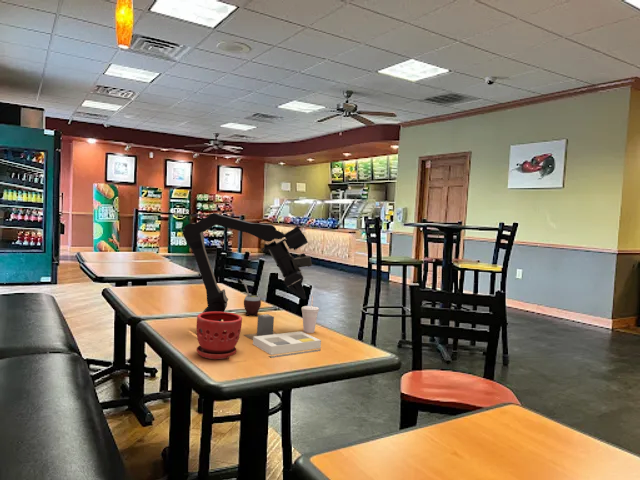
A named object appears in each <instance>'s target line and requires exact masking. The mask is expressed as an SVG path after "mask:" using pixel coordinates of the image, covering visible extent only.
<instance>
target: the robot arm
mask: <svg viewBox="0 0 640 480" xmlns="http://www.w3.org/2000/svg"><path fill="white" fill-rule="evenodd" d="M214 226H219V227H223V228H225V229H226V228H227V229H231V230H234V231H239V232H243V233H245V234H249V235H252V236H254V237H256V238H258V239H260V240H263V241H264V242H270V243H268V244H267V243H264V244H263V249H262V252H263V253H266V252H268V251H269V253H270V255H271V257H272V258H273V261H274V262H275V264H276V266H277V268H278V269H279V271H280V273H281V275H282V277H283V283H284V284H285V286H286V287H287V288H288V289H289V290H291V291H293V293H295V295H298V296H299V297H300V298H301V299H302V300H306V299H307V296H306V292H305V290H304V286H303V281H304V275H303V274H302V270H301V269H300V268H303V267H308V268H309V267H312V266H313V264H312V258H311V256H310V255H306V253H300V254H299V256H297V257H295V258H294V256H293V255H292V254H291V253H290V251H289V250H293V251H296V250H298V249H300V248H302V247H304V245H306V244H309V242H308V240H307V237H306V236H305V235H304V233H303V231H302V230H301V228H300V227H299V226H298V225H297V226H295V227H294V228H293V229H291V230H289V231H287V232H285V233H284V232H282V231H280V230H277V228H276V227H275V225H274V224H272V223H271V224H270V223H258V222H251V221H246V220H243V219H239V218H234V217H230V216H226V215H223V214H220V213H217V212H212V213H210V214H209V215H208V216H206V217H204V218H202V219H201V220H199V221H197V222H192V223H191V222H190V223H188V224H186V225H185V226H184V227H183V229H182V232H181V233H182V235H183V238H184V240H185V242H186V244H187V245H188V246H189V248H190V249H191V251H192V253H193V255H194V259H195V261H196V265H197V268H198V270H199V273H200V276H201V279H202V282H203V284H204V288H205V291H206V292H205V293H206V303H207V306H206V307H205V308H204V309H203V311H202V312H201V313H204V312H226V311H225V310H226V309H227V307H228V301H229V298H228V297H227V294H226V289H224V288H223V289H222V290H221V288H220V287H219V286H218V283H217V281H216V277H215V274H214V272H213V268H212V264H211V261H210V259H209V257H208V254H207V251H206V245H205V244H206V243H205V236H204V232H206V231H208V230H210V229H211V228H213V227H214ZM276 240H280V241H278V242H277V241H276ZM285 243H286V244H285ZM286 245H287V246H286ZM287 247H288V248H287ZM213 321H215V320H213ZM218 321H223V320H222V319H220V320H218ZM200 331H201V333H202V332H203V331H202V329H201V330H200Z"/></svg>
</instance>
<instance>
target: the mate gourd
mask: <svg viewBox="0 0 640 480" xmlns="http://www.w3.org/2000/svg"><path fill="white" fill-rule="evenodd" d="M239 281H240V282H241V283H242V284H243V285H244V288H245V290H246V293H247V295H246V296H245V297H244V300H243V307H244V310H245V316H246V317H250V316H251V317H258V313H259V310H260V308H261V306H262V305H261V304H262V300H261V298H260V296H259V295H256V294H255V295H254V294H249V290H248V285H247V283H245V281H244V280H242V279H239Z"/></svg>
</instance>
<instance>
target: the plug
mask: <svg viewBox="0 0 640 480" xmlns="http://www.w3.org/2000/svg"><path fill="white" fill-rule="evenodd" d="M257 315H258V314H257ZM274 319H275V316H272V315H270V314H267V313H266V314H259V315H258V316H257V326H256V333H257V336H263V335H272V334H273V332H274V322H275V321H274Z"/></svg>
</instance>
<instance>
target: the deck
mask: <svg viewBox="0 0 640 480" xmlns="http://www.w3.org/2000/svg"><path fill="white" fill-rule="evenodd" d="M273 334H279V333H278V332H276V331H273ZM243 336H244V337H246V338H247V339H250V341H253V337H254V336H257V332H256V333H249V334H248V333H247V334H243Z"/></svg>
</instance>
